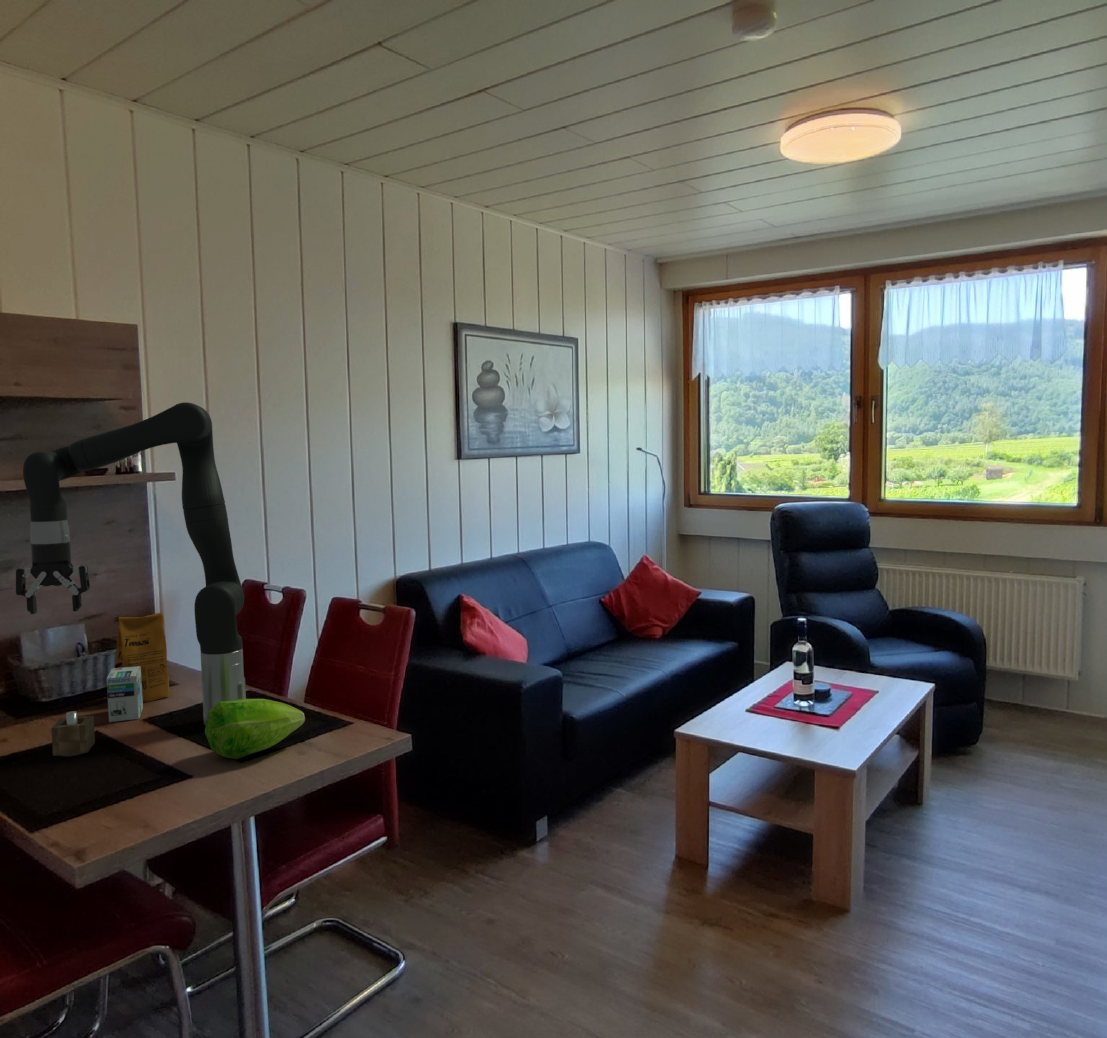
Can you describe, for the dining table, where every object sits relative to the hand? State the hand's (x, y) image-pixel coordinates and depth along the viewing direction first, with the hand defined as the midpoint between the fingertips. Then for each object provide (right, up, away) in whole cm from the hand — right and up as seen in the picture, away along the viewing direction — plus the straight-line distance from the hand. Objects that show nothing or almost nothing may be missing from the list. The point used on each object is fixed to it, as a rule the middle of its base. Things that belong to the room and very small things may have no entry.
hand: (54, 612), depth 188 cm
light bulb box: (+8, -27, +16) cm, 32 cm away
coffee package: (+5, -26, +29) cm, 40 cm away
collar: (+10, -28, -10) cm, 31 cm away
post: (+10, -29, -10) cm, 32 cm away
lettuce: (+50, -29, -11) cm, 58 cm away
